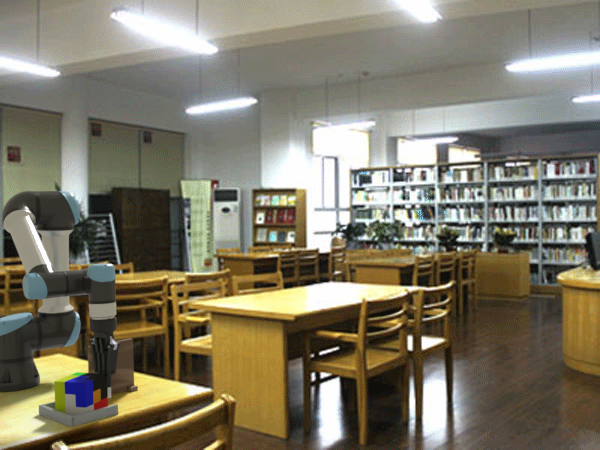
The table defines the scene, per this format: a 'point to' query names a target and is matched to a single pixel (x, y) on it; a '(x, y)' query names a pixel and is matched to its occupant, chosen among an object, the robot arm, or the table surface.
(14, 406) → the table surface
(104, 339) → the robot arm
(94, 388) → the puzzle toy
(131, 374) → the screen
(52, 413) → the corral
